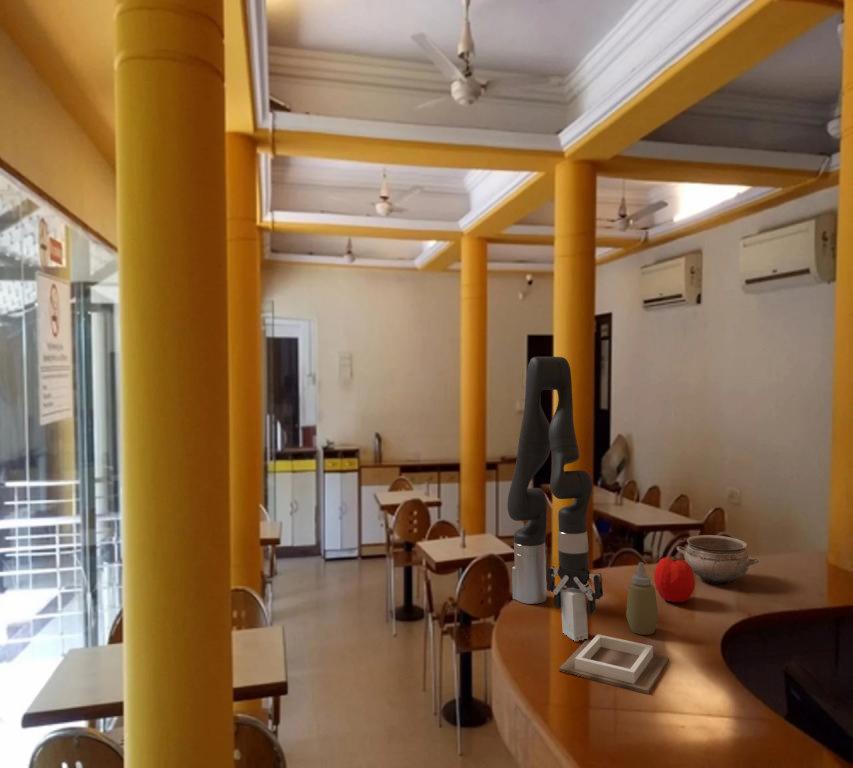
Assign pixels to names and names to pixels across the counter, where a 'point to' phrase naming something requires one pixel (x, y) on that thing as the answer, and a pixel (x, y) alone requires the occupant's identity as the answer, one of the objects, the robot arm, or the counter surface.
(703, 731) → the counter surface
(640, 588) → the squeeze bottle
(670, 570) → the tomato
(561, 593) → the skincare box
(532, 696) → the counter surface
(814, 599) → the counter surface
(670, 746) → the counter surface
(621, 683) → the board
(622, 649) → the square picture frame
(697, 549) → the cooking pot
